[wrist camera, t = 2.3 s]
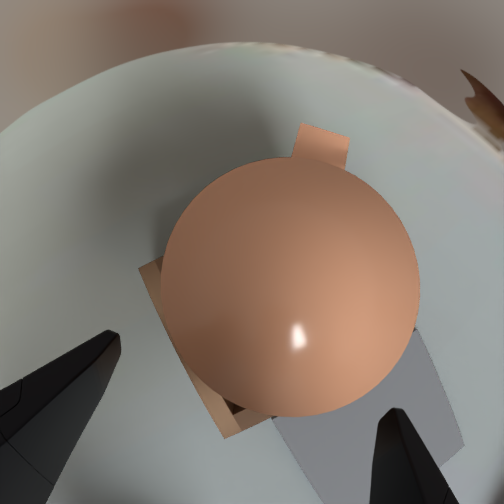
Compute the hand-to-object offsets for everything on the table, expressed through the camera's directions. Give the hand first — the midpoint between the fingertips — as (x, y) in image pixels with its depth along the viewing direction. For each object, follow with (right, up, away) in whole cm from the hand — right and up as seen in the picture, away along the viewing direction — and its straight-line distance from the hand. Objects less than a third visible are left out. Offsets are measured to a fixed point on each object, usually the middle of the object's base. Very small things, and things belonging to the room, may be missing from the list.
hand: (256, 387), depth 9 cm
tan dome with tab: (+1, +2, +11) cm, 11 cm away
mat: (+8, -8, +8) cm, 15 cm away
